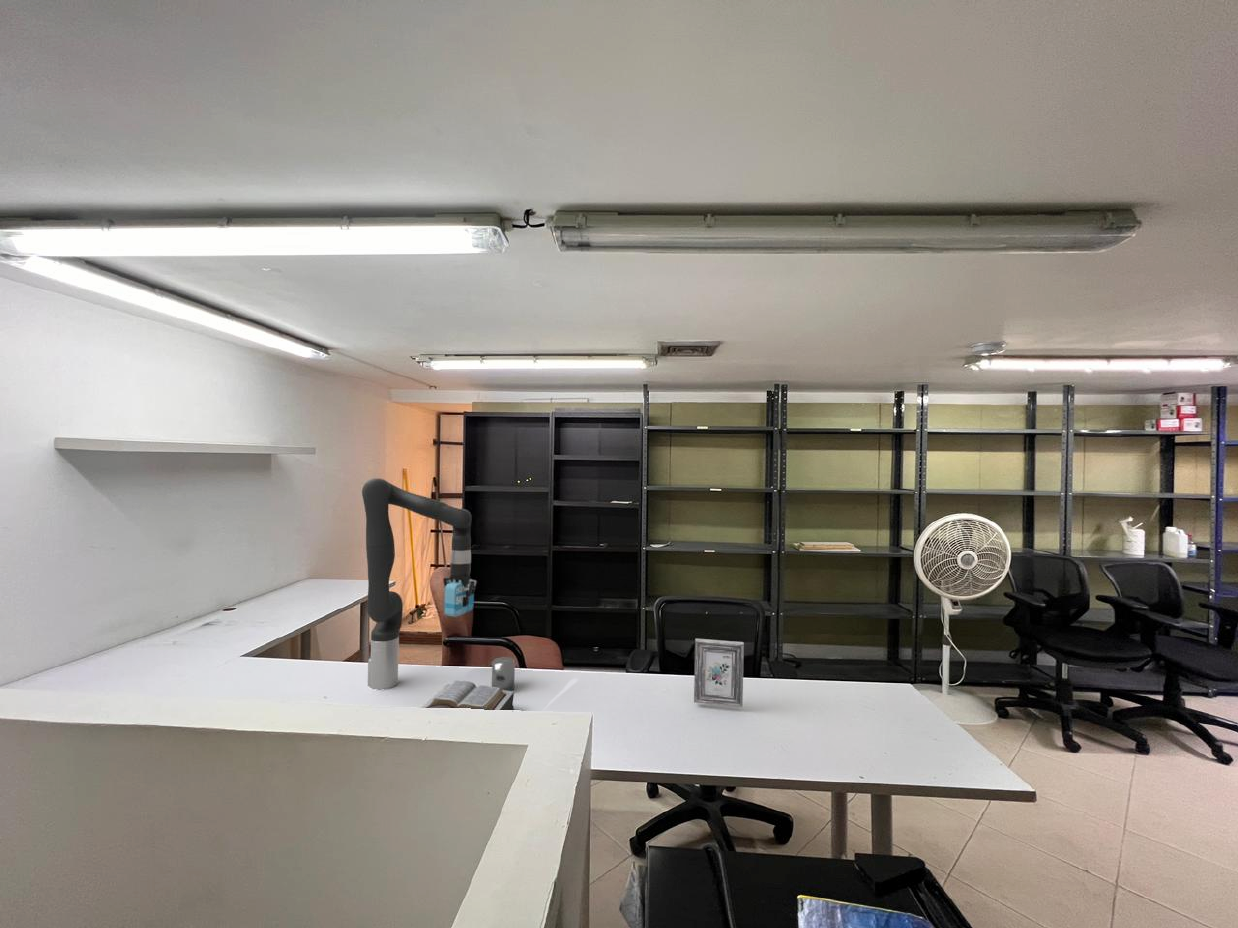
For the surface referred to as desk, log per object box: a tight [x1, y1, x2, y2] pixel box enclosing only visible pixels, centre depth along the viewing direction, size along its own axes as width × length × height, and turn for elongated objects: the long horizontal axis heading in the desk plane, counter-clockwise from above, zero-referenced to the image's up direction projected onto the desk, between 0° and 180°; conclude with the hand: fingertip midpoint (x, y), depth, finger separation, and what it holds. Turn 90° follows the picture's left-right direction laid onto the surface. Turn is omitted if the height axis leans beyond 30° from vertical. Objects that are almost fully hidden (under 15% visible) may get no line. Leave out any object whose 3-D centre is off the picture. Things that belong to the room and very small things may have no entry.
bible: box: [421, 679, 515, 711], centre depth 155 cm, size 23×27×10 cm
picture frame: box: [693, 638, 745, 708], centre depth 170 cm, size 16×2×22 cm, turn 81°
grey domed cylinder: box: [491, 656, 516, 692], centre depth 177 cm, size 8×8×10 cm
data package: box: [443, 582, 475, 618], centre depth 188 cm, size 12×4×12 cm, turn 161°
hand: (459, 605), depth 187 cm, fingers closed on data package, 4 cm apart
